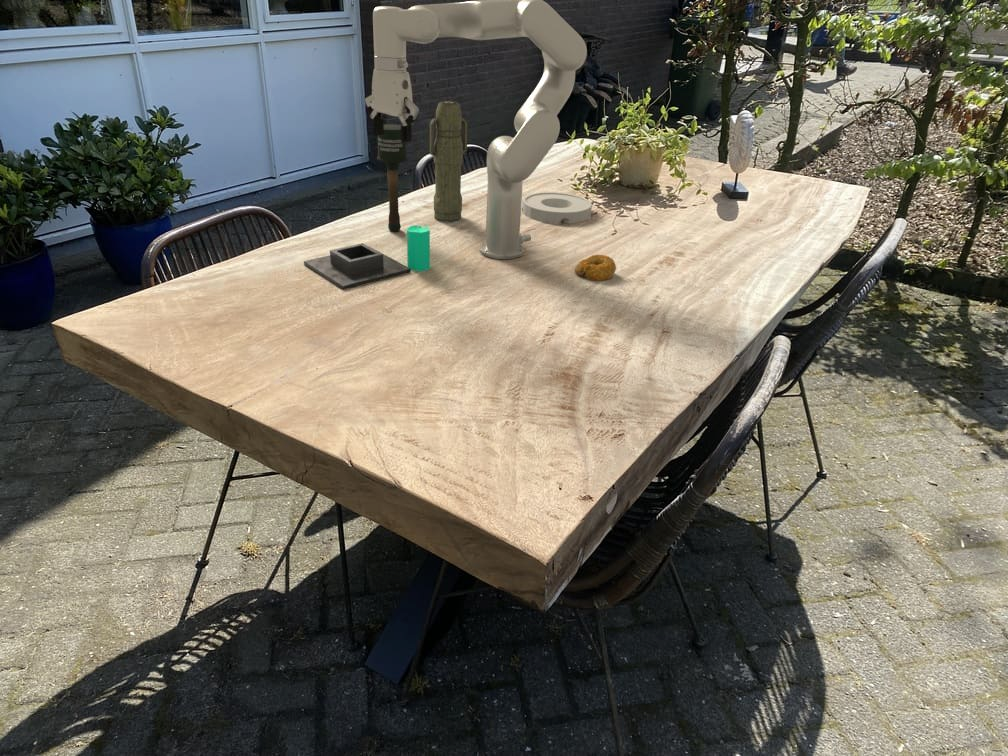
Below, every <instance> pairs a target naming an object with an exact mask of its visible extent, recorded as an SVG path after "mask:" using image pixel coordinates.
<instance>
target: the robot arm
mask: <svg viewBox="0 0 1008 756" xmlns="http://www.w3.org/2000/svg"><path fill="white" fill-rule="evenodd" d="M560 15H561V14H559V13H558V12H557V11H556V10H555V9H554V8H553V7H552V6H551V5H550V4H549V3H547V1H544V0H470V1H463V2H448V3H431V4H417V5H414V6H411V7H410V8H408V9H403V8H402V7H398V6H388V5H387V6H386V5H383V6H382V5H381V6H376V7H375V8H374V9H373V12H372V25H373V26H372V27H373V28H372V29H373V31H372V32H373V52H374V54H373V56H374V57H373V58H374V60H373V61H374V62H373V63H374V68H373V73H372V81H371V94H370V95H369V96H367V97H365V99H364V101H365V105H366V106H367V111H368V113H369V117H370V119H372V135H373V136H374V137H378V135H383V134H384V125H385V124H384V123H385V122H384V118H383V117H382V116H383V115H387V116H391V117H392V116H393V117H398V119H399V120H400V122H401V142H403V143H405V142H406V143H408V142H411V141H413V140H412V137H413V136H412V125H414V122H415V121H416V120H417V117H418V113H419V111H420V109H419V107H418V105H416V104H415V103H414V101H413V91H412V82H411V77H410V73H409V72H408V71H407V68H408V67H409V62H407V42H410V43H418V44H423V45H425V44H430V43H433V42H434V41H435V40H436V39H439V38H464V39H467V40H474V41H486V40H487V41H488V40H496V39H497V40H499V39H510V38H511V39H512V38H521V37H522V38H524V37H525V38H528V39H530V40H531V41H532V43H533V44H534V45H535V46H536V47H537V48H538V49H539V50H540V51H541V54H542V58H543V63H544V67H543V73H542V76H541V78H540V80H539V81H538V83H537V85H536V87H535V88H534V90H533V91H531V94H530V95H529V96H528V98H527V99H526V101H524V103H523V104H522V105H521V107H520V109H519V110H518V111H517V113H516V115H515V117H514V120H513V125H514V129H515V131H516V132H517V133H516V134H515V135H514V137H512V136H509V135H501V136H498V137H496V138H494V139H493V140H492V141H491V142H490V144H489V146H488V148H487V152H486V172H487V197H486V214H485V215H486V217H485V242H483V243H482V244H481V245H480V246H479V252H480V253H481V255H484V256H485V257H487V258H491V259H497V260H510V259H511V260H513V259H516V258H519V257H520V258H521V256H523V255H524V253H525V248H524V247H523V246H522V244H524V243H525V242H530V241H532V235H531V234H529V233H528V234H527V233H526V234H524V235H522V233H521V232H520V231H521V216H522V215H521V214H522V199H523V181H525V180H527V179H528V178H529V177H530V176H531V175H532V174H533V172H534V171H535V170H536V169H537V168H538V166H539V165H540V164H541V162H542V161H543V159H544V158H545V157H546V156H547V154H548V153H549V152H550V151H551V149H552V148H553V147H554V145H555V144H556V142H557V140H558V137H559V134H560V131H561V130H560V129H561V126H560V123H561V122H560V120H559V118H558V114H560V111H561V110H562V109H563V107H564V106H565V104H566V103H567V101H568V99H569V98H570V96H571V94H572V92H573V89H574V85H575V81H576V71H577V70H578V69H580V68H581V67H582V66H583V65H584V63H585V62H586V59H587V55H588V53H587V52H588V49H587V48H588V47H587V45H586V41H585V40H584V39H583V38H582V36H581V35H580V34H579V33H578V32H577V31H576V30H575V29H574V28H573V27H572V26H571V25H570V24H569V23H568V22H567V21H566V20H565V19H564V18H563V17H562V16H560Z"/></svg>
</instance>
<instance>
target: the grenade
mask: <svg viewBox="0 0 1008 756" xmlns="http://www.w3.org/2000/svg"><path fill="white" fill-rule="evenodd" d="M401 126H402V124H400V125H399V124H395V123H394V124H393V123H391V124H387V123H386V124H384V134H383V135H378V136H377V153H378V154H377V157H376V159H377V161H379V162H380V163H381V162H382V163H385V164H386V170H387V173H386V174H387V185H388V202H389V203H388V204H389V205H388V208H389V209H388V210H389V213H388V226H387V227H388V230H389V231H390V232H392V233H393V232H394V233H397V232H400V231H401V227H402V225H401V218H400V217H401V216H400V213H399V164H401V163H405V162H408V160H409V159H408V156H407V142H405V143H403V142H401Z"/></svg>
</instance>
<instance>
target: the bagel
mask: <svg viewBox="0 0 1008 756" xmlns="http://www.w3.org/2000/svg"><path fill="white" fill-rule="evenodd" d="M616 270H617V266H616V263H615V260H614V259H613V258H611V257H610V256H608V255H603V254H592V255H591V256H589V257H587V258H585V259H581V260H580V261H579V262H578V263H577V264H576V265H575V266H574V270H573V271H574V272H575V274H577V275H578V276H580V277H585V278H586V279H589V280H592V281H597V282H600V281H601V282H602V281H606V280H608V279H610V278H612V277H613V276H614V274H615V272H616Z"/></svg>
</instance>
